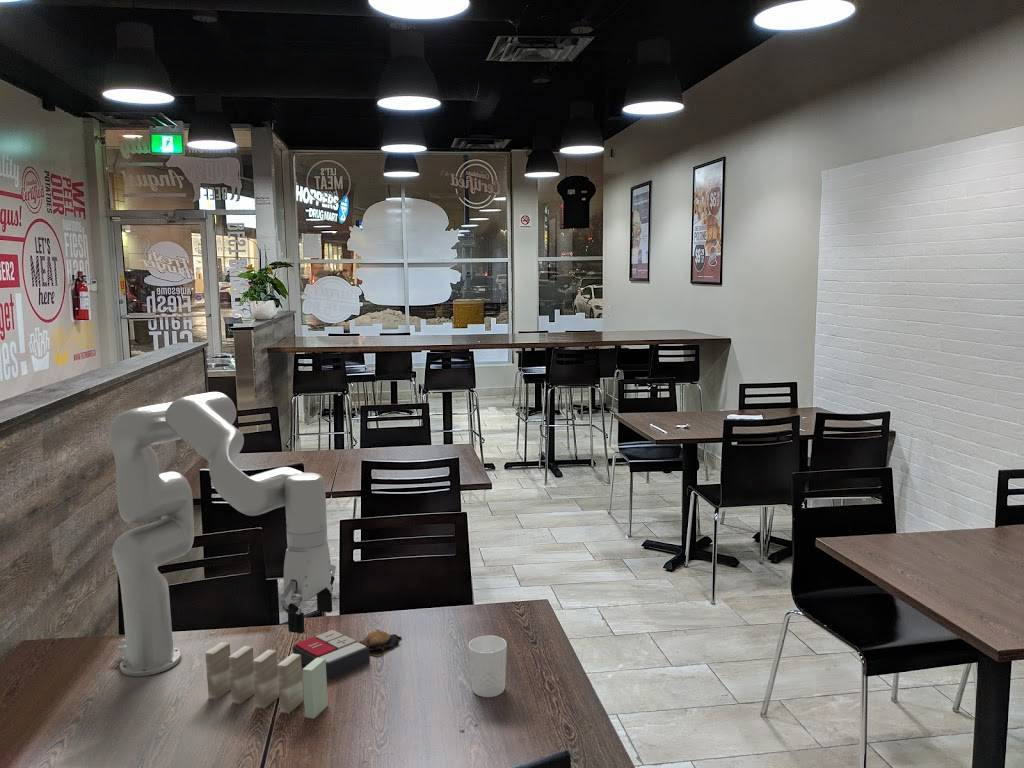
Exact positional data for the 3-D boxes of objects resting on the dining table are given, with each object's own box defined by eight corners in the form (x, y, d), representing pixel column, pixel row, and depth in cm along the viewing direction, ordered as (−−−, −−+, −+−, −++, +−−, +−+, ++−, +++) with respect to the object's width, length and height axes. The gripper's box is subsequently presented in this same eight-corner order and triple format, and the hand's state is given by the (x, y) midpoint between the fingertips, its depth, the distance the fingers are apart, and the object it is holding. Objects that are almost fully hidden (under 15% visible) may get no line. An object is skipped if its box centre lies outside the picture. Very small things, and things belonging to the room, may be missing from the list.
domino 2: (232, 703, 158) (228, 656, 157) (247, 690, 163) (244, 645, 162) (240, 704, 158) (236, 658, 156) (255, 692, 162) (252, 646, 161)
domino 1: (208, 698, 160) (205, 652, 159) (224, 686, 165) (221, 641, 164) (216, 700, 160) (213, 654, 158) (232, 687, 164) (229, 643, 163)
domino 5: (305, 717, 153) (302, 669, 151) (319, 703, 157) (316, 657, 156) (313, 718, 152) (311, 670, 151) (327, 705, 157) (325, 658, 155)
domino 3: (255, 707, 157) (252, 660, 155) (271, 695, 161) (268, 649, 160) (264, 709, 156) (261, 662, 155) (279, 696, 161) (276, 650, 159)
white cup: (513, 684, 164) (512, 639, 163) (497, 702, 157) (496, 655, 155) (480, 676, 167) (479, 632, 166) (462, 694, 160) (461, 648, 159)
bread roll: (380, 661, 176) (379, 645, 176) (350, 653, 180) (349, 638, 179) (406, 641, 186) (406, 626, 185) (377, 634, 189) (377, 620, 189)
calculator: (333, 627, 185) (369, 644, 174) (334, 644, 185) (370, 662, 175) (291, 642, 177) (326, 661, 167) (293, 661, 178) (328, 680, 167)
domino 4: (280, 712, 155) (277, 664, 153) (294, 699, 159) (292, 653, 158) (288, 713, 154) (286, 666, 153) (303, 701, 159) (300, 654, 157)
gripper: (315, 522, 159) (319, 601, 162) (263, 550, 143) (267, 638, 146) (347, 525, 157) (350, 606, 159) (297, 554, 141) (302, 643, 143)
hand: (311, 621), depth 152 cm, fingers open, 9 cm apart
